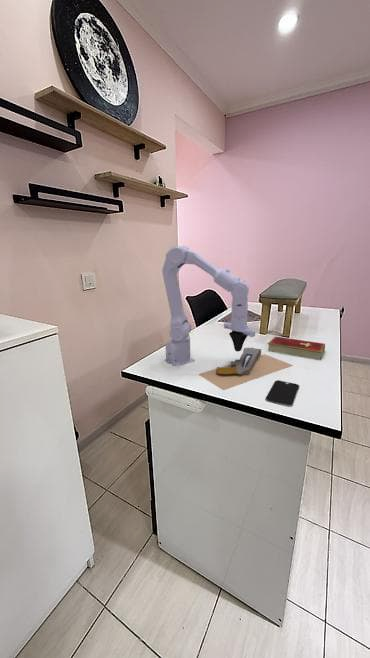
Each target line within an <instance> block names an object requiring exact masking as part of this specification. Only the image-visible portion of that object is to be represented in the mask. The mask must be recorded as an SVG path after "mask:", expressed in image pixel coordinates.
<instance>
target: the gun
mask: <svg viewBox="0 0 370 658" xmlns="http://www.w3.org/2000/svg"><path fill="white" fill-rule="evenodd" d="M260 355H262V349H260V348H256V347H244V348H243V350H242V354H241V355H240V357H239V359H238V358H237V359H235V360H232V361H230V362H229V364H228V365H229V367H226V368H221V367H222V366H220V367H219V366H217V367H216V368H215V369H216V373H217V374H240V375H243V374H246V375H249V374H250V372H251V370H252V368H253V367H254V365H255V363H256V361H257V360H258V359H259V356H260Z"/></svg>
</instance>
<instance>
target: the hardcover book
mask: <svg viewBox="0 0 370 658" xmlns="http://www.w3.org/2000/svg"><path fill="white" fill-rule="evenodd" d="M267 345H268V348H267V350H268V352H273V353H279V354H284V355H290V356H296V357H301V358H307V359H312V360H316V361H317V360H318V361H319V360H321V357H322V355H323V352H325V349H326V343H322V342H316V341H308V340H303V339H296V338H288V337H283V336H277V335H276V336H274V337H273V338H272V339H271V340H269V342H267Z"/></svg>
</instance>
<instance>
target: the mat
mask: <svg viewBox="0 0 370 658" xmlns="http://www.w3.org/2000/svg"><path fill="white" fill-rule="evenodd" d="M229 365H230V364H227V365H224V366H220V367H221V368H226V367H229ZM293 366H294V365H293V364H291V363H288V362H286V361H283V360H281V359H278V358H275V357H272V356H269V355H267V354H265V353H264V354H261V355H260V356H259V359H258V360H257V361H256V363H255V365H254V367H253V368H252V370H251V372H250V374H249V375H246V374H243V375H240V374H217V373H216V369H217V368H213V369H211V370H207V371H204V372H200V373H198V374H197V375H198V376H200V377H201V378H204V379H205V380H206V381H208V382H210V383H211V384H213V385H214V386H216V387H218V388H219V389H220V390H223V391H225V390H228V389H231V388H233V387H236V386H240V385H242V384H245V383H247V382H250V381H254V380H256V379H260V378H261V377H265V376H267V375H271V374H273V373H275V372H279V371H281V370H284V369H287V368H290V367H293Z"/></svg>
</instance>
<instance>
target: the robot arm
mask: <svg viewBox="0 0 370 658" xmlns="http://www.w3.org/2000/svg"><path fill="white" fill-rule="evenodd" d="M184 265H195V266H196V267H198V268H199V269H201V270H202V271H204V272H205V273H207V274H208V275H210V276H211V277H212V278H213V283H215V284H216V285H218V286H219V287H221V288H222V289H224V290H225V291H226V292H228V293H230V294H231V296H232V297H231V298H232V302H231V316H230V319H231V322H225V323H223V328H224V329H227V330H230V332H229V333H228V334H229V337H230V339H231V341H232V345H233V349H234V351H235V352H240V351H242V349H243V346H244V343H245V341H246V340H247V337H250V338H254V337H256V331H255V330H253V329H252V328H250V327H249V325H248V312H249V311H248V308H249V302H248V301H249V300H248V299H249V298H248V295H249V289H250V288H249V285H248V284H247V282H246V281H245V280H242V279H241V278H240V277H236V276H235V275H234V274H232V273H231V272H230V271H231V270H230V269H228V268H226V269H225V268H217V267H216V266H215V265H213V263H211V262H209V260H207V259H206V258H204V257H203V256H202V255H201V254H199V253H198V252H196V251H194V250H193V249H190V248H189V247H187V246H185V245H180V246H179V245H174V246H172V247H171V248H169V249H168V251H167V252H166V254H165V259H164V263H163V267H162V271H161V273H162V277H163V283H164V287H165V292H166V296H167V297H166V298H167V301H168V302H167V303H168V307H169V311H170V317H171V318H170V322H169V325H170V329H169V336H170V338H171V340H169V341H167V342H165V359H164V360H165V361H166V362H168V363H170V364H171V365H172V366H174V367H176V366H177V367H178V366H181V365H184V364H188V363H191V362H195V360H196V359H195V358H193V357H191V337H190V333H191V331H192V324H191V323H190V322H189V320H188V316H187V315H186V314H185V309H184V305H183V299H182V295H181V294H182V293H181V290H180V284H179V278H178V273H179V271H180V270H181V269H182V267H183V266H184Z"/></svg>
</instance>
